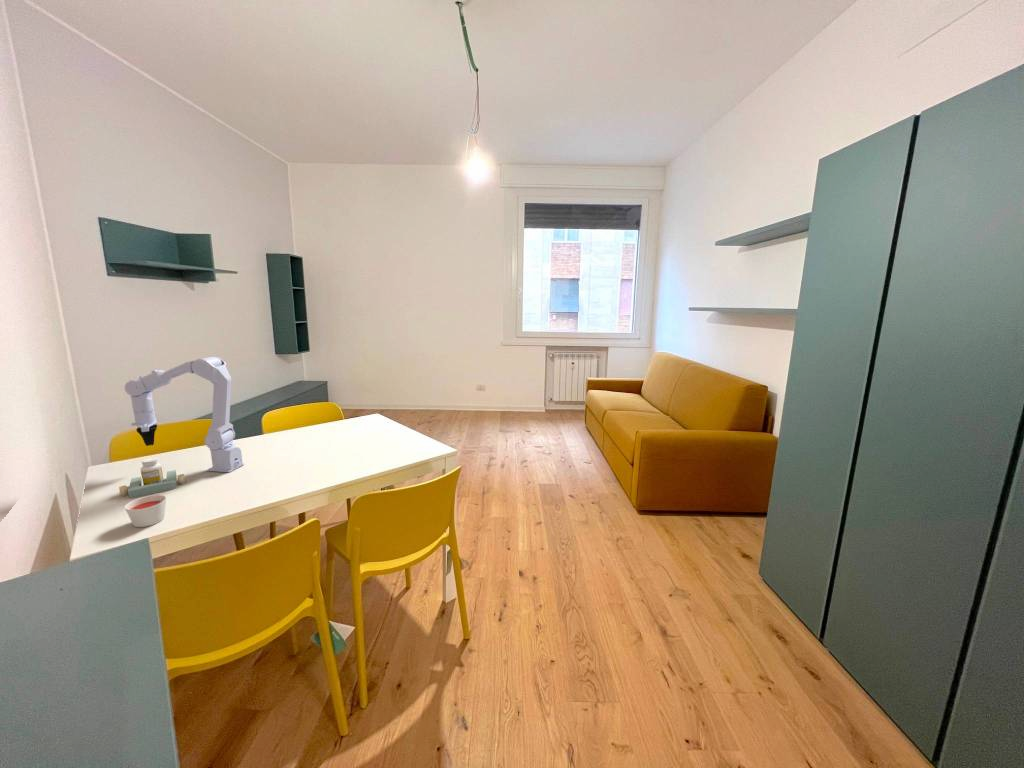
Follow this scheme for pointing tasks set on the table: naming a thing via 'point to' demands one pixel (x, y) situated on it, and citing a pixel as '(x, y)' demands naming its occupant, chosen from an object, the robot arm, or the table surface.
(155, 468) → the supplement bottle
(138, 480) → the slot block
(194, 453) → the table surface
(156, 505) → the candle
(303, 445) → the table surface
